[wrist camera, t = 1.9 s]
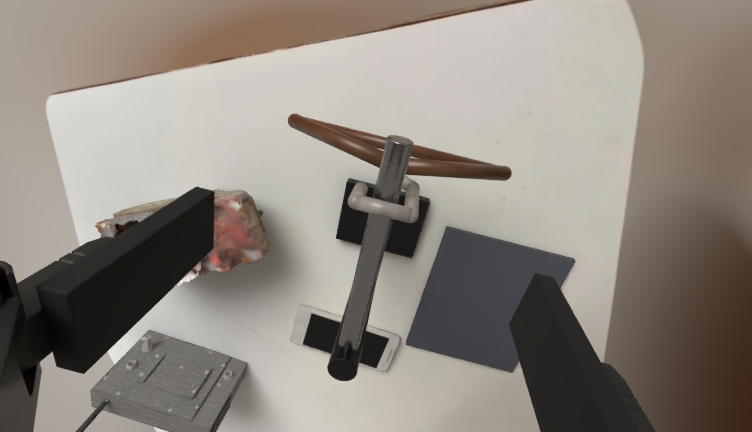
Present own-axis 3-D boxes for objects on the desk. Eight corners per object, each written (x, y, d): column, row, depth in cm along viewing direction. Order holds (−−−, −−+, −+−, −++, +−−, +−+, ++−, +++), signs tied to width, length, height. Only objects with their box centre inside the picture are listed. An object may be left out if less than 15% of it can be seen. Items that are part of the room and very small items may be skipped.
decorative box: (122, 162, 46) (52, 190, 38) (268, 148, 43) (227, 175, 34) (160, 250, 52) (106, 292, 43) (292, 244, 48) (263, 288, 40)
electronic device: (148, 346, 61) (32, 471, 43) (148, 317, 58) (25, 439, 40) (246, 378, 61) (171, 515, 44) (251, 351, 58) (174, 487, 41)
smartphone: (300, 303, 53) (298, 307, 52) (400, 336, 53) (400, 341, 52) (291, 337, 56) (289, 342, 55) (386, 368, 56) (385, 373, 55)
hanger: (512, 166, 30) (569, 248, 18) (506, 179, 31) (558, 267, 19) (291, 111, 31) (203, 155, 19) (289, 124, 31) (203, 177, 19)
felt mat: (573, 258, 44) (575, 261, 44) (511, 369, 53) (512, 372, 52) (446, 225, 44) (446, 228, 44) (405, 341, 53) (405, 344, 53)
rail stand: (412, 253, 47) (400, 426, 26) (337, 234, 47) (264, 390, 26) (460, 101, 38) (501, 173, 17) (368, 78, 38) (295, 121, 17)
